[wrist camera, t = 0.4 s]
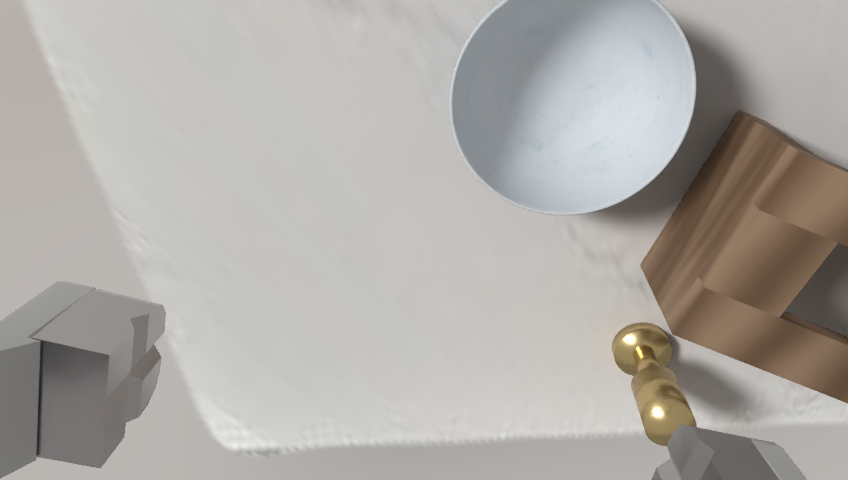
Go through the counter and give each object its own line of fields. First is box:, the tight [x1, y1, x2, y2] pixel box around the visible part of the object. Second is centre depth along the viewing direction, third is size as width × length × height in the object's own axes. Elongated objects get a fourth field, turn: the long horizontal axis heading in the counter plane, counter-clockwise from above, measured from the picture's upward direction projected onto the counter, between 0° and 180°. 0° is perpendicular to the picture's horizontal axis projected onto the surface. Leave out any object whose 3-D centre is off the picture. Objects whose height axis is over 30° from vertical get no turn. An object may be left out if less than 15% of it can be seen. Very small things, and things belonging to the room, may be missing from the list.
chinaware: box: [450, 0, 696, 215], centre depth 43 cm, size 15×15×8 cm
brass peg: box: [612, 323, 696, 446], centre depth 51 cm, size 5×5×10 cm
